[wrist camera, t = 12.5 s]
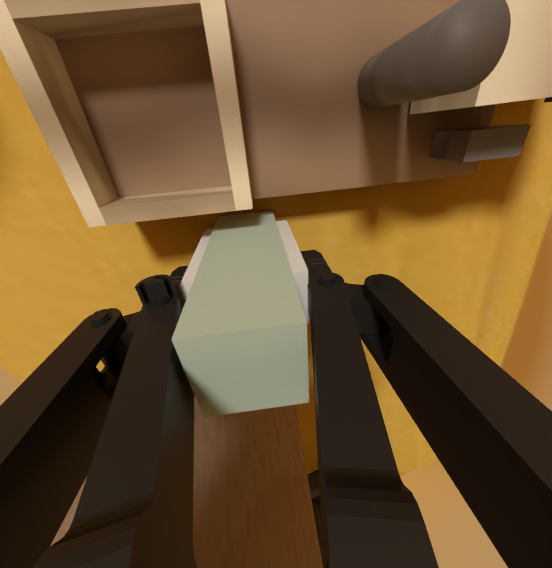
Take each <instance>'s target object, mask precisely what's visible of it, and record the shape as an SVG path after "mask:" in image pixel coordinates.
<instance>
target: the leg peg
mask: <svg viewBox="0 0 552 568" xmlns="http://www.w3.org/2000/svg"><path fill="white" fill-rule="evenodd" d="M171 340H172V342H173V345H174V347H175V349H176V352H177V354H178V356H179V359H180V361H181V364H182V366H183V368H184V371H185V373H186V375H187V378H188V380H189V383H190V385H191V387H192V390H193V392H194V394H195V397H196V399H197V402H198V404H199V406H200V409H201V411H202V413H203V416H204V417H210V416H217V415H224V414H231V413H238V412H245V411H253V410H260V409H267V408H274V407H281V406H288V405H295V404H303V403H309V378H308V344H307V321H306V318H305V314H304V311H303V308H302V304H301V301H300V298H299V295H298V291H297V288H296V285H295V282H294V278H293V275H292V272H291V269H290V265H289V262H288V259H287V256H286V252H285V249H284V246H283V242H282V239H281V236H280V233H279V229H278V226H277V223H276V220H275V216H274V213H273V210H271V211H262V212H253V213H245V214H236V215H227V216H218V217H217V220H216V222H215V225H214V228H213V230H212V233H211V236H210V238H209V241H208V244H207V246H206V249H205V252H204V254H203V257H202V260H201V262H200V265H199V268H198V270H197V273H196V276H195V278H194V281H193V283H192V286H191V289H190V291H189V294H188V297H187V299H186V302H185V305H184V307H183V310H182V313H181V315H180V318H179V321H178V323H177V326H176V329H175V331H174V334H173V337H172V339H171Z"/></svg>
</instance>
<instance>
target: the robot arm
mask: <svg viewBox="0 0 552 568" xmlns="http://www.w3.org/2000/svg"><path fill="white" fill-rule="evenodd" d="M276 223H277V226H278V229H279V233H280V236H281V239H282V242H283V246H284V249H285V252H286V256H287V259H288V262H289V265H290V269H291V272H292V275H293V278H294V282H295V285H296V288H297V291H298V295H299V298H300V301H301V304H302V308H303V311H304V314H305V318H306V321H307V324H308V323H309V316H310V319H311V342H312V353H313V373H314V392H315V411H316V430H317V449H318V468H319V471H318V472H315V473H313V474H311V475H309V476H307V477H308V483H309V489H310V495H311V501H312V507H313V512H314V518H315V524H316V530H317V536H318V542H319V548H320V554H321V559H322V565H323V568H439V567H438V564H437V561H436V558H435V555H434V552H433V548H432V545H431V542H430V539H429V535H428V532H427V529H426V526H425V523H424V520H423V517H422V514H421V512H420V509H419V506H418V504H417V502H416V500H415V498H414V496H413V494H412V492H411V491H410V490H409V489H408V488H406V487H405V486H404V485H403V483H402V481H401V479H400V476H399V473H398V470H397V466H396V462H395V459H394V455H393V452H392V448H391V445H390V441H389V438H388V434H387V431H386V427H385V424H384V420H383V417H382V413H381V410H380V406H379V403H378V399H377V396H376V392H375V388H374V385H373V381H372V378H371V374H370V371H369V367H368V364H367V360H366V357H365V353H364V350H363V346H362V343H361V339H362V341H363V342H364V344H365V345H366V347H367V349H368V350H369V352H370V353H371V355H372V356H373V358H374V359H375V361H376V363H377V364H378V366H379V367H380V369H381V370H382V372H383V373H384V375H385V377H386V378H387V380H388V381H389V383H390V384H391V386H392V387H393V389H394V391H395V392H396V394H397V395H398V397H399V398H400V400H401V401H402V403H403V405H404V406H405V408H406V409H407V411H408V412H409V414H410V415H411V417H412V419H413V420H414V422H415V423H416V425H417V426H418V428H419V429H420V431H421V433H422V434H423V436H424V437H425V439H426V440H427V442H428V443H429V445H430V447H431V448H432V450H433V451H434V453H435V454H436V456H437V458H438V459H439V461H440V462H441V464H442V465H443V467H444V468H445V470H446V471H447V473H448V474H449V476H450V478H451V479H452V481H453V482H454V484H455V486H456V487H457V489H458V490H459V492H460V493H461V495H462V496H463V498H464V500H465V501H466V503H467V504H468V506H469V507H470V509H471V510H472V512H473V513H474V515H475V517H476V518H477V520H478V521H479V523H480V524H481V526H482V527H483V529H484V531H485V532H486V534H487V535H488V537H489V538H490V540H491V541H492V543H493V545H494V546H495V548H496V549H497V551H498V553H499V554H500V556H501V557H502V558H503V560H504V562H505V563H506V565H507V566H508V568H552V411H551V410H549V409H548V408H547V407H546V406H545V405H543V404H542V403H541V402H540V401H539V400H538V399H537V398H535V397H534V396H533V395H532V394H531V393H530V392H528V391H527V390H526V389H525V388H524V387H523V386H522V385H520V384H519V383H518V382H517V381H516V380H515V379H513V378H512V377H511V376H510V375H509V374H508V373H506V372H505V371H504V370H503V369H502V368H501V367H499V366H498V365H497V364H496V363H495V362H494V361H492V360H491V359H490V358H489V357H488V356H487V355H485V354H484V353H483V352H482V351H481V350H480V349H478V348H477V347H476V346H475V345H474V344H473V343H471V342H470V341H469V340H468V339H467V338H466V337H464V336H463V335H462V334H461V333H460V332H459V331H458V330H456V329H455V328H454V327H453V326H452V325H451V324H449V323H448V322H447V321H446V320H445V319H444V318H442V317H441V316H440V315H439V314H438V313H437V312H435V311H434V310H433V309H432V308H431V307H430V306H428V305H427V304H426V303H425V302H424V301H423V300H421V299H420V298H419V297H418V296H417V295H416V294H414V293H413V292H412V291H411V290H410V289H409V288H407V287H406V286H405V285H404V284H403V283H402V282H400V281H399V280H398V279H396V278H395V277H392V276H389V275H385V274H384V275H383V274H377V275H371V276H369V277H367V278H366V279H365V282H364V285H356V284H348V283H344V279H343V278H342V277H341V276H340V275H338V274H335V273H332V271H331V270H330V268H329V266H328V265H327V263H326V261H325V260H324V258H323V256H322V255H321V253H319V252H317V251H316V250H309V251H300V250H299V248H298V245H297V243H296V241H295V238H294V236H293V234H292V232H291V229H290V227H289V225H288V222H287V220H283V221H276ZM212 230H213V229H205V231H204V233H203V235H202V237H201V239H200V242H199V244H198V246H197V248H196V250H195V253H194V255H193V257H192V259H191V261H190V263H189V266H181V267H178V268H177V269H175V270H174V271H173V272H172V273H171V275H170V276H168V275H155V276H151V277H148V278H146V279H144V280H142V281H140V282H139V283H138V284H137V285H136V286H135V288H136V290H137V293H138V295H139V297H140V299H141V301H142V304H143V306H142V309H141V311H139V312H136V313H133V314H130V315H126V316H122V314H121V312H120V310H118V309H116V308H110V309H103V310H100V311H97V312H95V313H94V314H92V315H90V316H89V317H87V318H86V319H85V320H84V321H83V322H82V323H81V324H80V325H79V326H78V327H77V328H76V329H75V330H74V331H73V332H72V333H71V334H70V335H69V336H68V337H67V338H66V339H65V340H64V341H63V342H62V343H61V344H60V345H59V346H58V347H57V348H56V349H55V350H54V351H53V352H52V353H51V354H50V355H49V356H48V357H47V358H46V360H45V361H44V362H43V363H42V364H41V365H40V366H39V367H38V368H37V369H36V370H35V371H34V372H33V373H32V374H31V375H30V376H29V377H28V378H27V379H26V380H25V381H24V382H23V383H22V384H21V385H20V386H19V387H18V388H17V389H16V390H15V391H14V392H13V393H12V394H11V395H10V397H9V398H8V399H7V400H6V401H5V402H4V403H3V404H2V405H1V406H0V568H197V566H196V561H195V556H194V548H193V487H194V392H193V390H192V387H191V385H190V383H189V380H188V378H187V375H186V373H185V371H184V368H183V366H182V364H181V361H180V359H179V356H178V354H177V352H176V349H175V347H174V345H173V342H172V340H171V339H172V337H173V334H174V331H175V329H176V326H177V323H178V321H179V318H180V315H181V313H182V310H183V307H184V305H185V302H186V299H187V297H188V294H189V291H190V289H191V286H192V283H193V281H194V278H195V276H196V273H197V270H198V268H199V265H200V262H201V260H202V257H203V254H204V252H205V249H206V246H207V244H208V241H209V238H210V236H211V233H212ZM359 335H360V336H359ZM360 338H361V339H360ZM100 360H101V361H102V362H103V364H104V365H105V367H104V368H103V370H102V371H101V372H99V371H98V369H97V368H96V366H97V364H98V363H99V361H100ZM86 477H87V478H86ZM85 479H86V481H85ZM84 481H85V484H84V487H83V490H82V493H81V496H80V499H79V503H78V506H77V509H76V512H75V515H74V518H73V521H72V523H71V525H70V528H69V530H68V531H67V533H66V534H65V535H64V537H63V538H61V539H60V540H58V541H57V542H56V543H54V544H53V545H51V544H52V542H53V540H54V538H55V536H56V534H57V532H58V530H59V528H60V527H61V525H62V523H63V521H64V519H65V517H66V515H67V513H68V511H69V509H70V507H71V506H72V504H73V502H74V500H75V498H76V496H77V494H78V492H79V490H80V488H81V486H82V485H83V483H84Z"/></svg>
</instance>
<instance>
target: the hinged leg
mask: <svg viewBox="0 0 552 568" xmlns="http://www.w3.org/2000/svg"><path fill="white" fill-rule="evenodd" d="M506 2H507V4H508V7H509V10H510V18H511V25H510V34H509V38H508V42H507V45H506V48H505V50H504V53H503V55H502V57H501V59H500V61H499V62H498V64H497V65H496V67H495V68H494V70H493V71H492V72H491V73H490V74H489V76H488V77H487V78H486V79H485V80H484V81H482V82H481V83H480V84H479V85H477V86H475V87H474V88H472V89H470V90H467V91H464V92H459V93H454V94H449V95H444V96H438V97H433V98H428V99H423V100H418V101H413V102H411V108H410V114H418V113H426V112H434V111H443V110H451V109H459V108H468V107H476V106H484V105H492V104H500V103H507V102H515V101H523V100H531V99H539V98H545V100H544V102H552V0H506Z"/></svg>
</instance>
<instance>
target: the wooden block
mask: <svg viewBox="0 0 552 568" xmlns="http://www.w3.org/2000/svg"><path fill="white" fill-rule="evenodd" d="M86 478H87V477H86ZM85 481H86V479H85ZM85 481H84V483H83V485H82V486H81V488H80V490H79V492H78V494H77V496H76V498H75V500H74V502H73V504H72V506H71V507H70V509H69V511H68V513H67V515H66V517H65V519H64V521H63V523H62V525H61V527H60V528H59V530H58V532H57V534H56V536H55V538H54V540H53V542H52V544H51V545H53V544H54V543H56V542H57V541H58V540H60V539H61V538H63V537H64V535H65V534H66V533H67V531H68V530H69V528H70V525H71V523H72V521H73V518H74V515H75V512H76V509H77V506H78V503H79V499H80V496H81V493H82V490H83V487H84V484H85ZM193 548H194V556H195V561H196V566H197V568H323V565H322V559H321V554H320V548H319V542H318V536H317V530H316V524H315V518H314V512H313V507H312V501H311V495H310V489H309V483H308V477H307V471H306V465H305V460H304V454H303V448H302V442H301V436H300V430H299V424H298V418H297V413H296V407H295V405H288V406H281V407H274V408H267V409H260V410H253V411H245V412H238V413H231V414H224V415H217V416H210V417H204V416H203V413H202V411H201V409H200V406H199V404H198V402H197V399H196V397H195V394H194V487H193Z"/></svg>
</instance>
